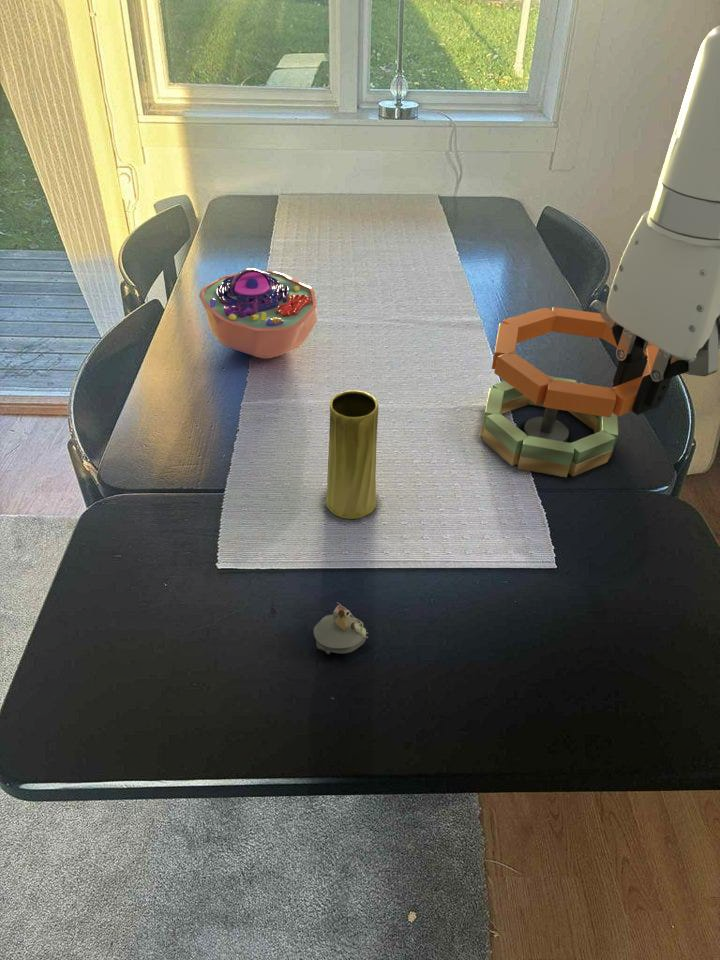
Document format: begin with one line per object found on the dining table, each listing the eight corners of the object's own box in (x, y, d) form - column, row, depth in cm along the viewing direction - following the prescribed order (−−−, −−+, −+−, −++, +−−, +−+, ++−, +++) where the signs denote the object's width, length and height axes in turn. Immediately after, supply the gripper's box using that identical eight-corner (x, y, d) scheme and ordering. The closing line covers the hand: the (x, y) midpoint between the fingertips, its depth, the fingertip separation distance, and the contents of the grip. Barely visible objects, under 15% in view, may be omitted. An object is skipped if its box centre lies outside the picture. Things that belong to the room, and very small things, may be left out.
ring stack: (636, 449, 93) (652, 406, 88) (540, 491, 86) (552, 446, 82) (549, 387, 104) (559, 345, 99) (457, 419, 97) (464, 376, 92)
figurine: (311, 660, 67) (310, 621, 63) (316, 622, 70) (315, 583, 66) (366, 663, 67) (369, 624, 63) (368, 626, 70) (371, 586, 66)
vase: (315, 505, 83) (313, 407, 74) (345, 478, 87) (347, 381, 77) (357, 527, 80) (361, 428, 71) (386, 498, 84) (393, 400, 75)
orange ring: (698, 383, 70) (706, 366, 69) (576, 434, 63) (582, 416, 62) (576, 312, 81) (581, 296, 80) (460, 348, 74) (463, 331, 73)
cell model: (228, 389, 101) (220, 318, 93) (194, 326, 114) (185, 259, 107) (337, 366, 106) (337, 298, 99) (292, 308, 120) (289, 244, 112)
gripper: (823, 237, 52) (728, 434, 64) (654, 173, 62) (599, 354, 74) (761, 256, 49) (674, 460, 61) (593, 186, 59) (547, 372, 71)
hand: (633, 400), depth 67 cm, fingers closed on orange ring, 2 cm apart
